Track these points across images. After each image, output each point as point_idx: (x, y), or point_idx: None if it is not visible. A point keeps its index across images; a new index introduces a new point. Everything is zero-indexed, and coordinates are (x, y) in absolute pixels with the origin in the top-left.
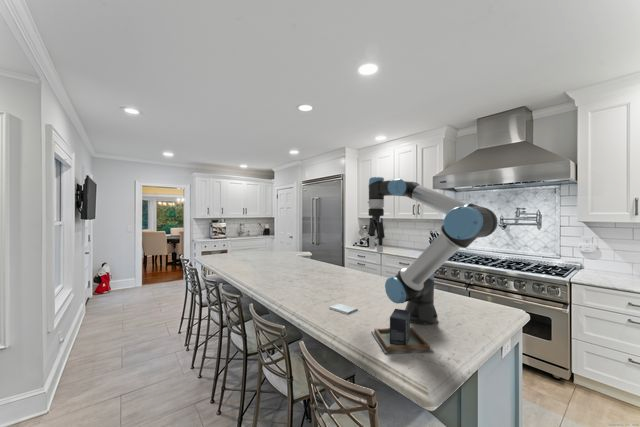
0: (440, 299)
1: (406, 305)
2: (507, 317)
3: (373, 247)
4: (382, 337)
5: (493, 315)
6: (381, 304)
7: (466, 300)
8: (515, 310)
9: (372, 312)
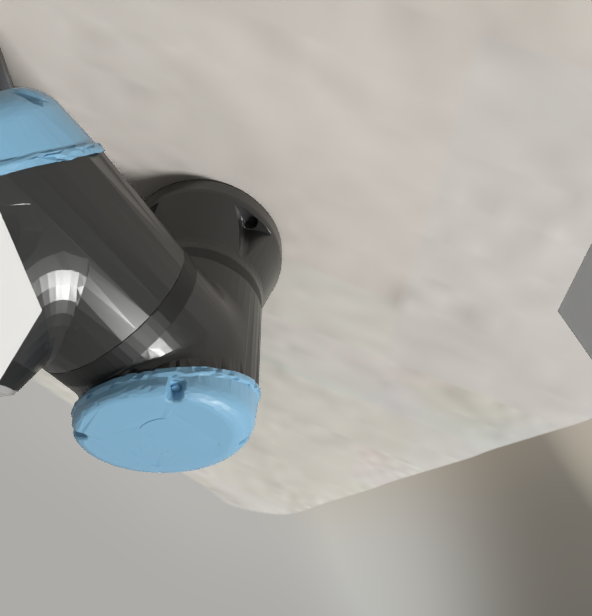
0: (428, 404)
1: (222, 224)
2: (225, 476)
3: (581, 307)
4: None
5: (242, 459)
6: (441, 128)
7: (392, 461)
8: (281, 511)
9: (308, 10)
